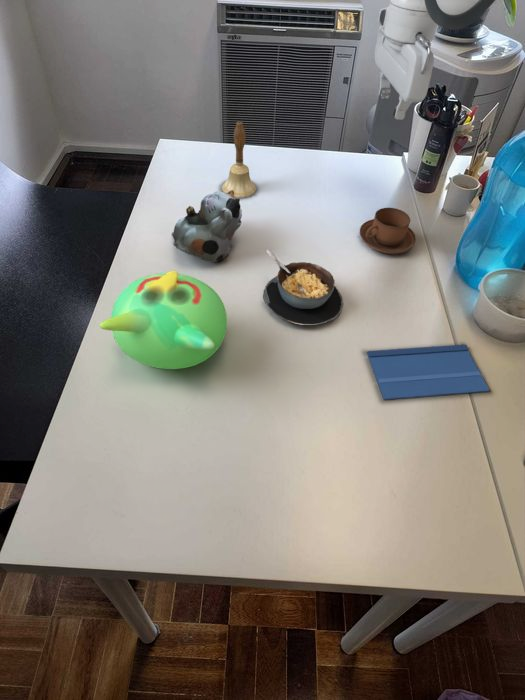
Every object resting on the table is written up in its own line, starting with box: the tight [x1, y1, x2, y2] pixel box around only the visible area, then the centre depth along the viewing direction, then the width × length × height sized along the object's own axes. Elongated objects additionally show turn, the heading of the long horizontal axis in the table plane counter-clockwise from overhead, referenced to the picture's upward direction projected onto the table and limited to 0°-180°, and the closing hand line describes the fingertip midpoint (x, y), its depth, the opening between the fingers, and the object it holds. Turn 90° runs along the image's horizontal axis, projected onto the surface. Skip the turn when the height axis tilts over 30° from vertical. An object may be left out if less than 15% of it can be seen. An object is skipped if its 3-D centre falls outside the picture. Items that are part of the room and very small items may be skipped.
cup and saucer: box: [359, 207, 417, 255], centre depth 101 cm, size 12×12×6 cm
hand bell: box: [221, 120, 257, 199], centre depth 108 cm, size 8×8×16 cm
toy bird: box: [99, 270, 228, 370], centre depth 74 cm, size 18×17×15 cm
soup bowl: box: [262, 249, 344, 326], centre depth 86 cm, size 15×16×7 cm
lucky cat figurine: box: [170, 190, 243, 263], centre depth 94 cm, size 15×12×14 cm
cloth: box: [366, 344, 491, 401], centre depth 79 cm, size 18×10×1 cm, turn 97°
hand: (390, 107), depth 92 cm, fingers open, 8 cm apart
